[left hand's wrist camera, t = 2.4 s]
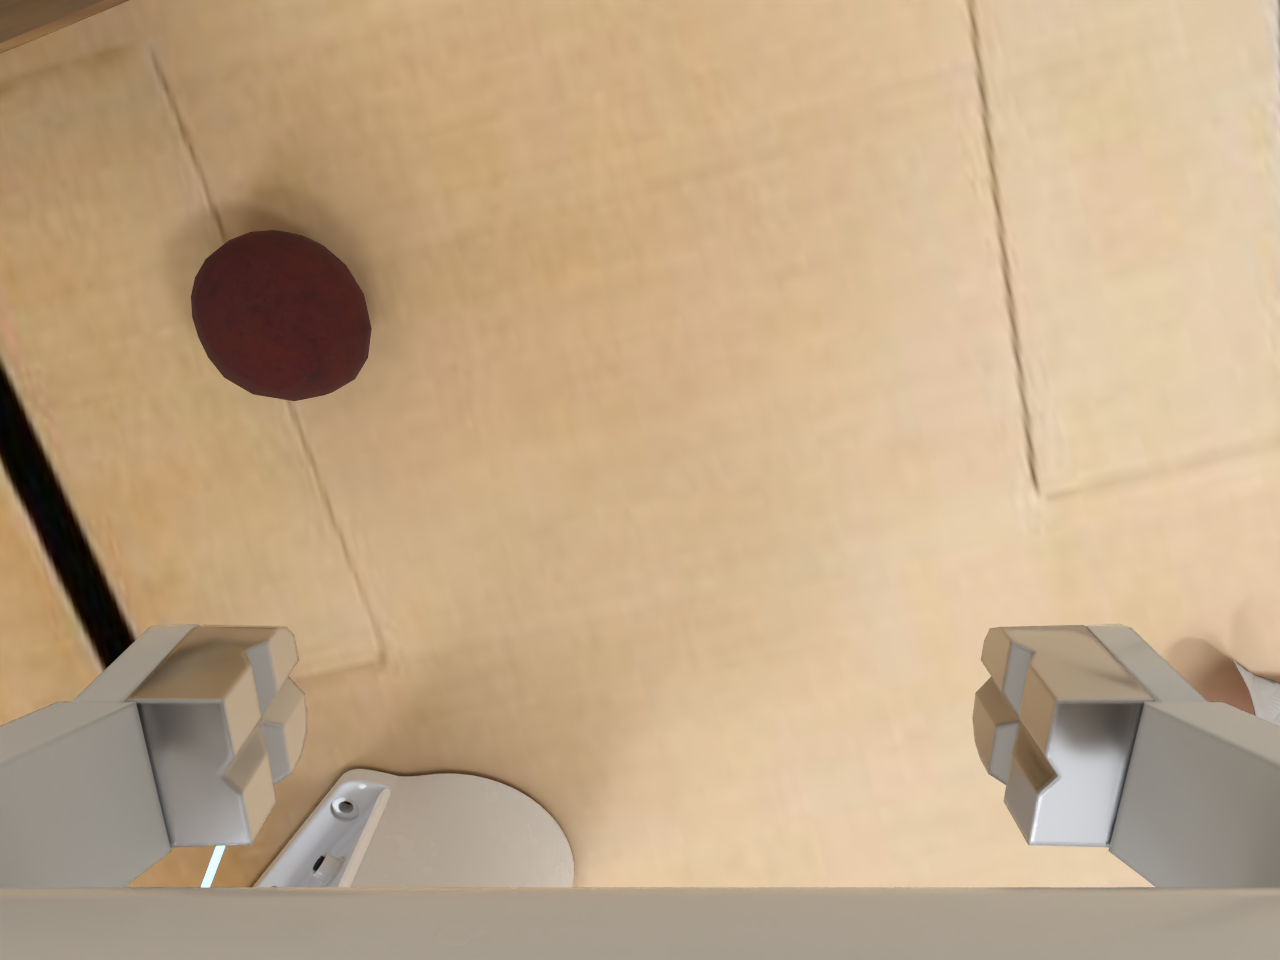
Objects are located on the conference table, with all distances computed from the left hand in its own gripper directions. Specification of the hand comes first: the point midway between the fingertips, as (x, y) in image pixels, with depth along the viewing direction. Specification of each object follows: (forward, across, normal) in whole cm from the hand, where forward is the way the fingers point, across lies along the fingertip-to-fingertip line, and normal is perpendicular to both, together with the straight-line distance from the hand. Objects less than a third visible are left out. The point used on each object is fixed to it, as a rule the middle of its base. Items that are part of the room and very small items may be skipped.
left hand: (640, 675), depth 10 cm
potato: (+34, -16, -1) cm, 37 cm away
